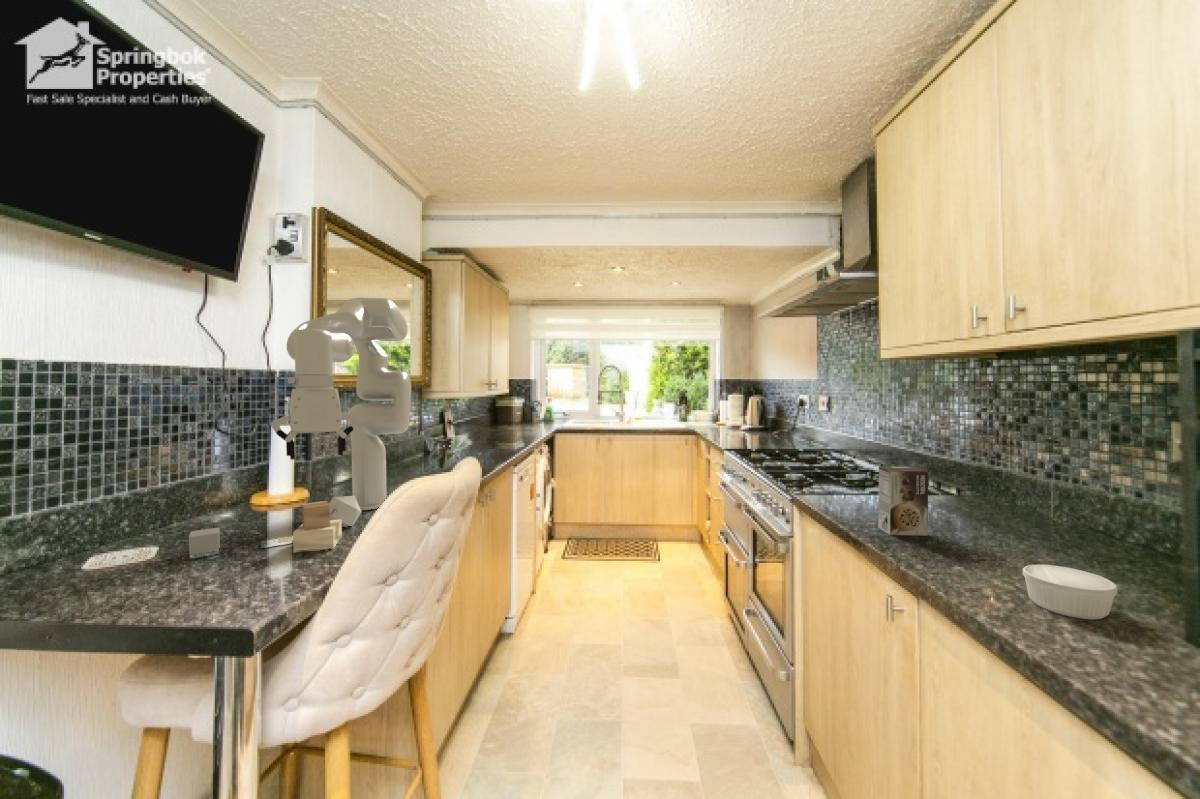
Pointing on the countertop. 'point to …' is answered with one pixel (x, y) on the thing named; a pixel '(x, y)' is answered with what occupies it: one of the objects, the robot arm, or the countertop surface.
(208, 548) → the slate block
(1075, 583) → the ramekin
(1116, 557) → the countertop surface
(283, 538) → the card
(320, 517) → the walnut block
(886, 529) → the cookie box
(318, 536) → the birch base block
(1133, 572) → the countertop surface
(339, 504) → the die
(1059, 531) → the countertop surface
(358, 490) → the robot arm
